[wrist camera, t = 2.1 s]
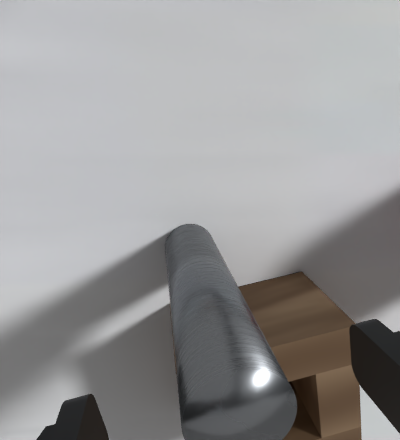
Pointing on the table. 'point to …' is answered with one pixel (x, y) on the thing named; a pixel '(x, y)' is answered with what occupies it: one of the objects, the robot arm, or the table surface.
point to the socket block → (309, 354)
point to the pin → (221, 349)
